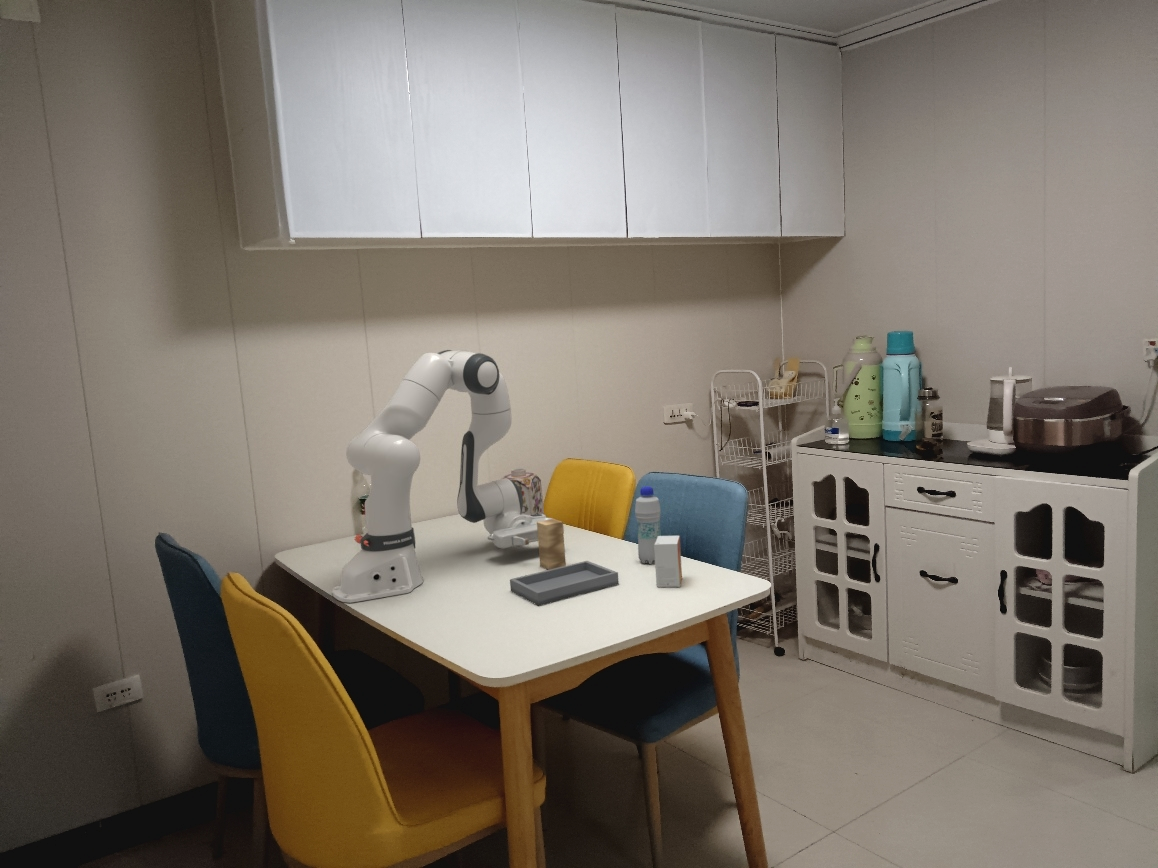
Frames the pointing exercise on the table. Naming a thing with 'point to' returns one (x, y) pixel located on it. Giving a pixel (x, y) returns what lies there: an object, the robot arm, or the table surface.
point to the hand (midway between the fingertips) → (541, 539)
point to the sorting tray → (563, 582)
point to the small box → (668, 561)
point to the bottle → (647, 523)
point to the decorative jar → (528, 490)
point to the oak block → (551, 544)
